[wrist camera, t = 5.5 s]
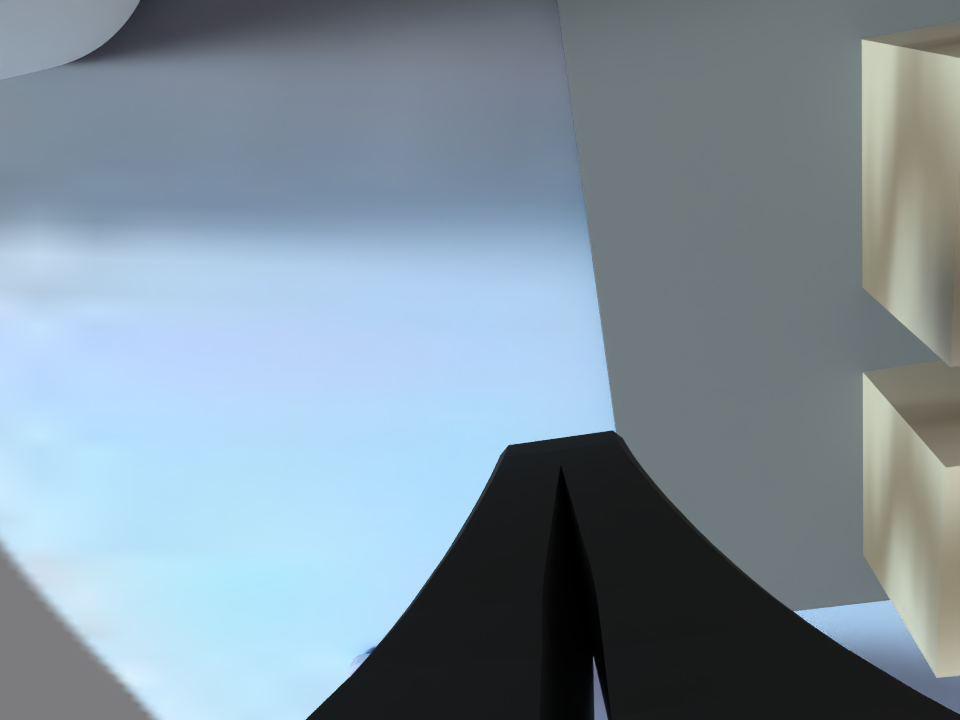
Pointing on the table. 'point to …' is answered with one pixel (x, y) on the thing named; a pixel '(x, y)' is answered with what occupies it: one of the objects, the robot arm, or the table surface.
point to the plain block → (913, 181)
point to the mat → (740, 265)
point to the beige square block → (915, 501)
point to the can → (55, 31)
